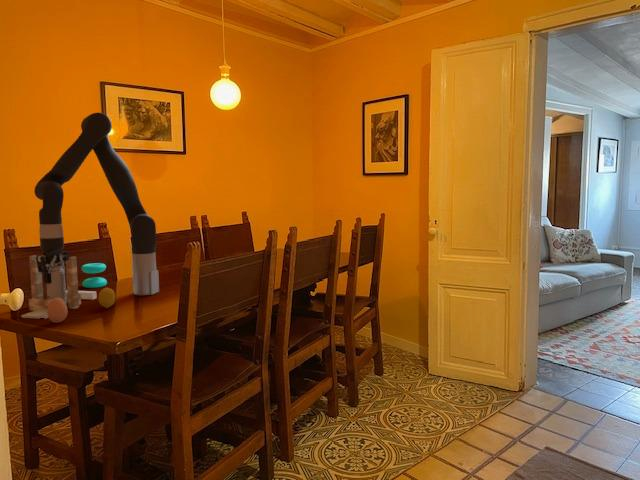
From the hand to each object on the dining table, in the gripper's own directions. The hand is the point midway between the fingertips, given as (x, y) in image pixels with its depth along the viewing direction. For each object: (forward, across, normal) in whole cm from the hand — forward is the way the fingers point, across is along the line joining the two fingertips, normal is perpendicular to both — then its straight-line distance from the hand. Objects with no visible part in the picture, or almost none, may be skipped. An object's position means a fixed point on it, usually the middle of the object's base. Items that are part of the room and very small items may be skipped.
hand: (54, 281), depth 166 cm
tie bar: (+10, +14, +1) cm, 17 cm away
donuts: (+10, +36, +9) cm, 38 cm away
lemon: (+10, +1, -20) cm, 22 cm away
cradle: (+10, 0, 0) cm, 10 cm away
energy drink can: (+10, 0, 0) cm, 10 cm away
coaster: (+10, -10, -3) cm, 14 cm away
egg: (+10, -18, -15) cm, 26 cm away
